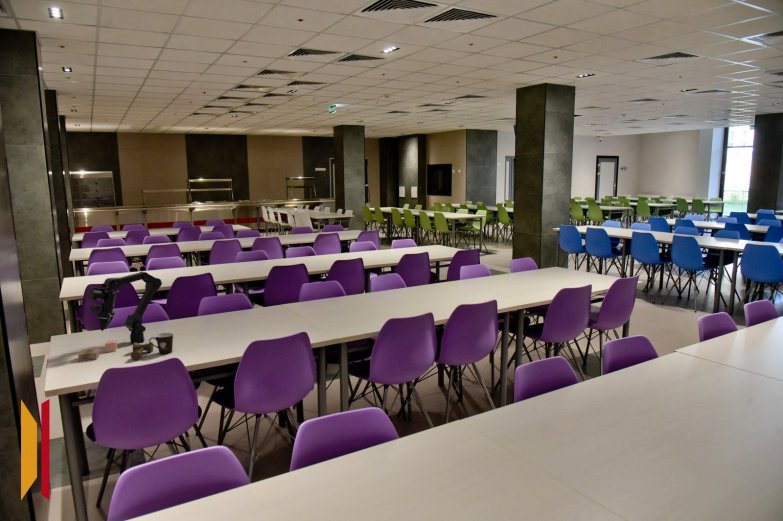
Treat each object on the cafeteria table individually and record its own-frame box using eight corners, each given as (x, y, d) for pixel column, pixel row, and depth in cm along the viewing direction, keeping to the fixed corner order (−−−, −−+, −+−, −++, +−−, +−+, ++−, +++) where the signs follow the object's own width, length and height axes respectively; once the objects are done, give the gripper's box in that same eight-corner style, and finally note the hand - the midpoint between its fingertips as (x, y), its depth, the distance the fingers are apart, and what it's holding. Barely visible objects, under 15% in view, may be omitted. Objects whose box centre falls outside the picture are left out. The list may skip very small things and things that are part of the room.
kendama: (126, 362, 270) (137, 349, 289) (145, 361, 272) (156, 348, 291) (125, 351, 269) (136, 338, 288) (145, 350, 271) (155, 338, 290)
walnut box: (99, 355, 280) (98, 348, 279) (96, 360, 273) (95, 353, 272) (82, 357, 278) (81, 349, 277) (78, 362, 270) (78, 354, 269)
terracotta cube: (117, 348, 290) (116, 339, 290) (116, 351, 286) (115, 342, 285) (107, 349, 289) (106, 340, 288) (105, 352, 284) (104, 343, 283)
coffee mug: (178, 351, 286) (176, 333, 284) (166, 356, 278) (165, 337, 276) (160, 348, 289) (159, 331, 288) (148, 353, 281) (147, 335, 280)
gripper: (95, 298, 292) (90, 326, 291) (88, 300, 275) (83, 330, 274) (117, 301, 296) (112, 328, 295) (111, 303, 278) (106, 332, 277)
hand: (103, 329), depth 285 cm, fingers open, 9 cm apart
